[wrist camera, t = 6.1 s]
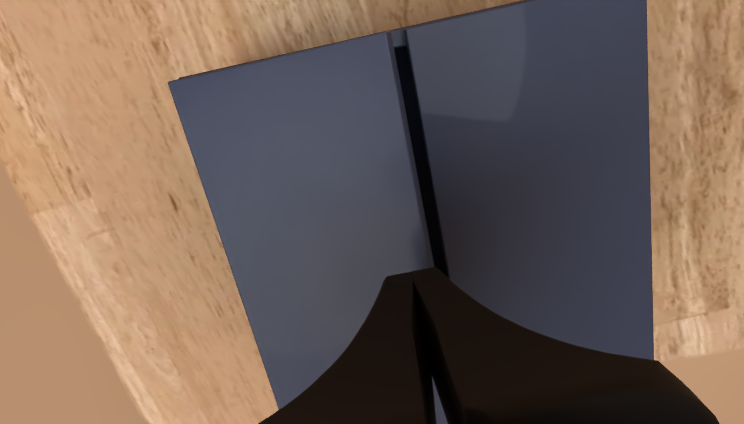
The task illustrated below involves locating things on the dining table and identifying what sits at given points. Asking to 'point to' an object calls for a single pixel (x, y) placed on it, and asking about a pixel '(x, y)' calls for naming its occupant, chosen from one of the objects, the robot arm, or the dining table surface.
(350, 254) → the flap
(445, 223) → the carton
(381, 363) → the robot arm
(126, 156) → the dining table surface
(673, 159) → the dining table surface
